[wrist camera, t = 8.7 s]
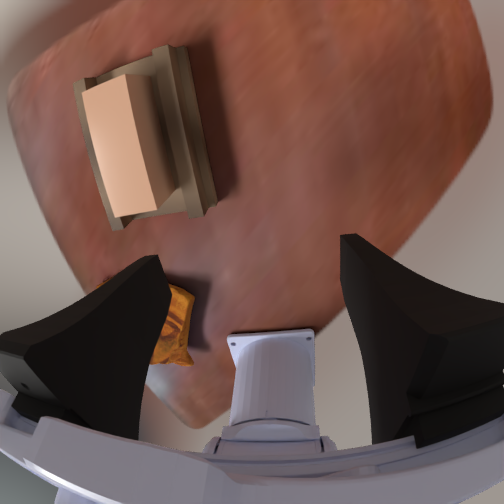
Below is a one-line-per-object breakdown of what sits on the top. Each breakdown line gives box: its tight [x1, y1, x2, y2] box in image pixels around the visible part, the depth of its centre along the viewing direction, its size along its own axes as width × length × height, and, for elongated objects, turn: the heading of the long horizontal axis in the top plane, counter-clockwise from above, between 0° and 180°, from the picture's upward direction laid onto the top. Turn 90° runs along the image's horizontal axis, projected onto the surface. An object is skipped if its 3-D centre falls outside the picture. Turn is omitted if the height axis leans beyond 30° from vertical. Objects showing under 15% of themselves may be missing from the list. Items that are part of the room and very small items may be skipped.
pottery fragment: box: [96, 277, 195, 366], centre depth 25 cm, size 10×5×10 cm
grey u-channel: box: [73, 45, 218, 231], centre depth 17 cm, size 11×8×2 cm
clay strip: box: [82, 74, 176, 218], centre depth 15 cm, size 8×3×4 cm, turn 9°
